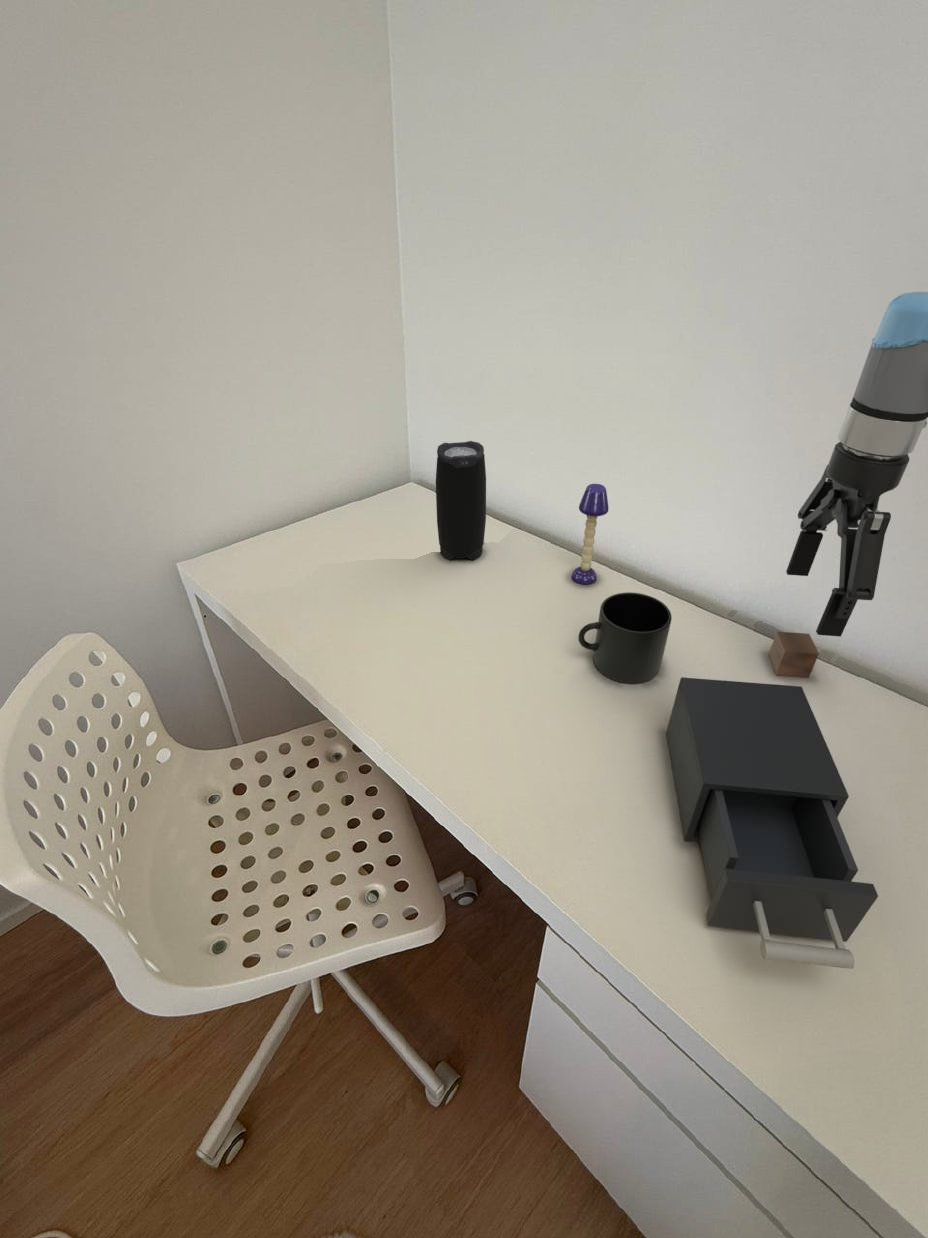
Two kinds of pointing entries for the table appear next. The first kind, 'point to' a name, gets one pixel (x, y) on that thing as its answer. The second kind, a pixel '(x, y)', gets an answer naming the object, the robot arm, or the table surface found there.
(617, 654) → the mug
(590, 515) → the toy lamp
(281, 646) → the table surface
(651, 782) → the table surface
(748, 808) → the drawer
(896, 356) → the robot arm
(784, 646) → the block
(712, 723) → the cabinet
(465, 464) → the portable speaker
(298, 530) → the table surface
